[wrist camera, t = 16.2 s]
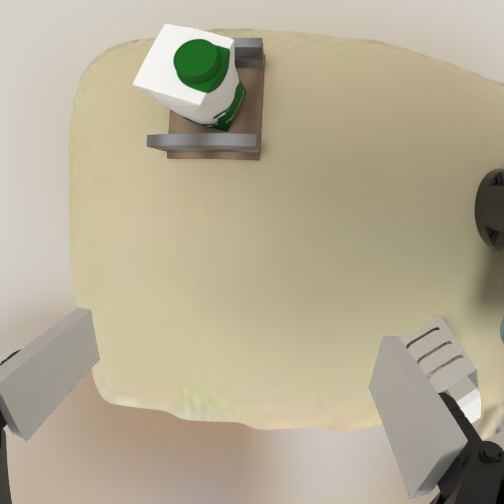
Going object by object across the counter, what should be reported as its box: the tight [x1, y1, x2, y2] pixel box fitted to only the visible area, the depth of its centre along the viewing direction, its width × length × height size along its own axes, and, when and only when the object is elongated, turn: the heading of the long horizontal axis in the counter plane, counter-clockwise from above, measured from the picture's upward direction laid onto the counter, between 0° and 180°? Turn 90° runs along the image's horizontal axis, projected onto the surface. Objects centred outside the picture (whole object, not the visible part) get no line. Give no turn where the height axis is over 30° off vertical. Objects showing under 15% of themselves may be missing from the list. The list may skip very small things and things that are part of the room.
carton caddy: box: [147, 38, 265, 160], centre depth 38 cm, size 14×17×9 cm
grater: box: [400, 315, 481, 423], centre depth 39 cm, size 10×10×20 cm
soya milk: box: [133, 24, 246, 132], centre depth 32 cm, size 9×9×20 cm
